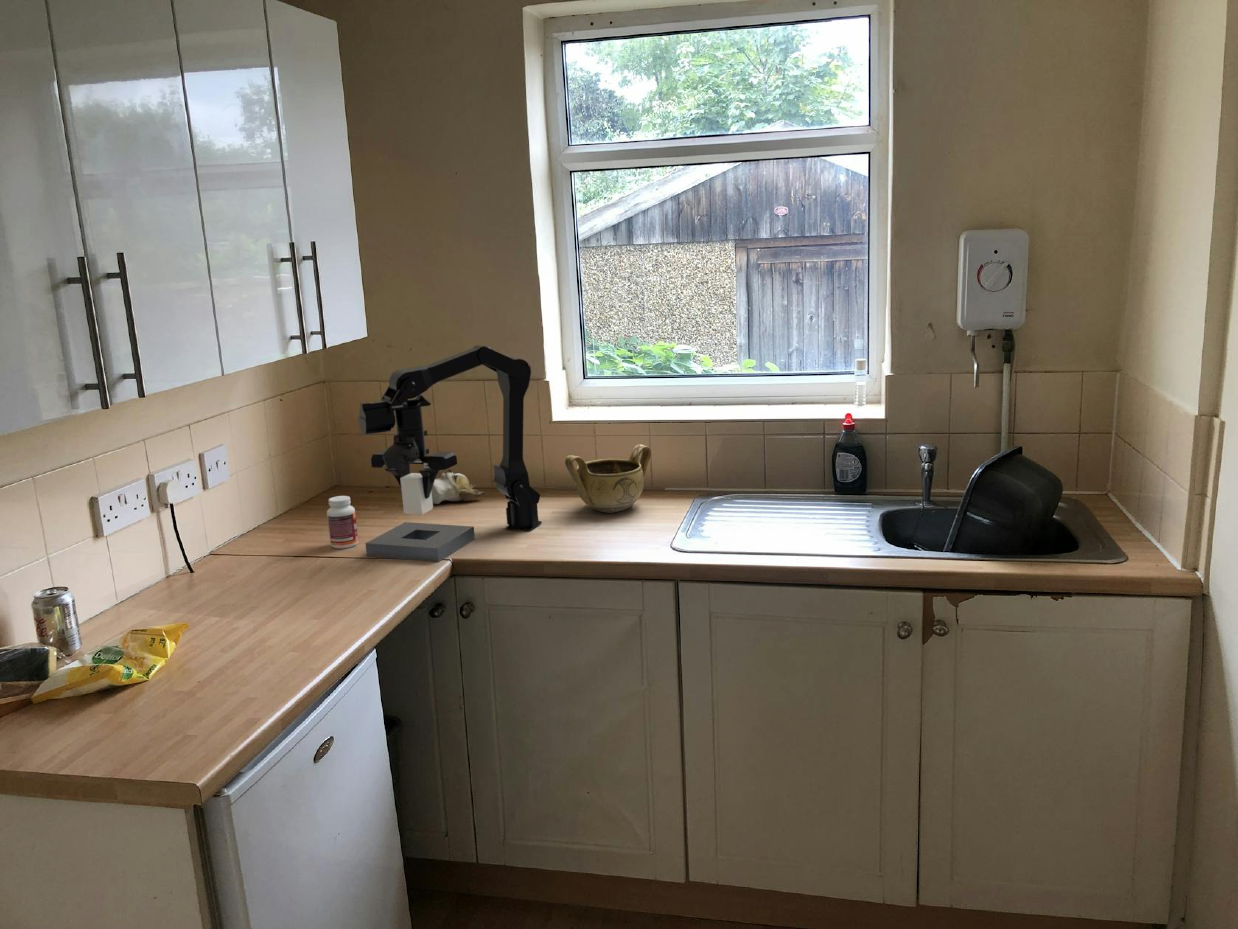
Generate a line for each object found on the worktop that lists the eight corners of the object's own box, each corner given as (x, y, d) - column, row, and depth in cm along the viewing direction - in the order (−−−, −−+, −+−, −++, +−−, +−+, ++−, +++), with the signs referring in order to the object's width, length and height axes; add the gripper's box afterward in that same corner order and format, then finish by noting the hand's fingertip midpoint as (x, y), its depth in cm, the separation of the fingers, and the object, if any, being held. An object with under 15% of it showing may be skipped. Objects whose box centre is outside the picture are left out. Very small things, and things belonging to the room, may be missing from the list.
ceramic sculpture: (418, 468, 259) (473, 463, 265) (419, 500, 261) (474, 494, 267) (428, 476, 250) (486, 471, 256) (429, 509, 252) (486, 504, 258)
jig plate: (475, 539, 225) (473, 526, 225) (438, 562, 211) (437, 548, 210) (406, 534, 232) (405, 522, 231) (366, 556, 217) (365, 543, 216)
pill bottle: (362, 545, 225) (357, 498, 223) (335, 551, 222) (330, 503, 219) (353, 539, 230) (348, 493, 228) (327, 544, 227) (321, 498, 224)
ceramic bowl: (587, 525, 231) (583, 462, 228) (554, 509, 246) (550, 450, 242) (667, 508, 242) (665, 448, 239) (632, 494, 257) (629, 437, 253)
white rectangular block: (433, 508, 221) (429, 473, 219) (422, 514, 216) (418, 478, 215) (415, 507, 222) (411, 473, 220) (404, 513, 218) (400, 478, 216)
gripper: (351, 435, 211) (360, 505, 215) (428, 437, 204) (435, 510, 208) (381, 424, 221) (388, 492, 225) (455, 426, 215) (461, 496, 218)
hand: (417, 497), depth 219 cm, fingers closed on white rectangular block, 5 cm apart
